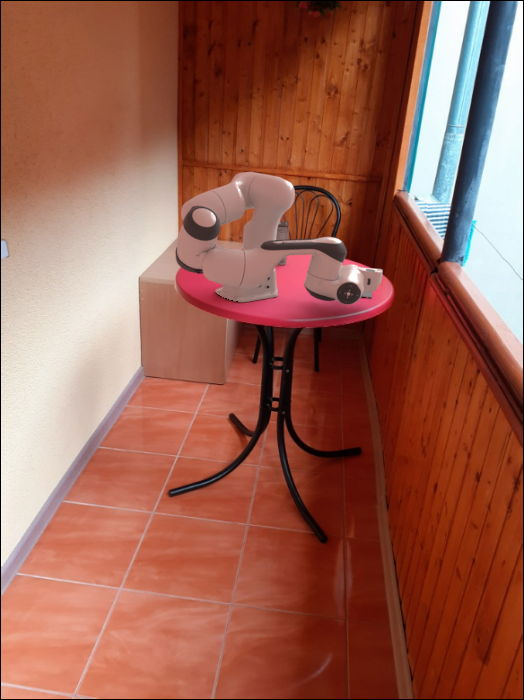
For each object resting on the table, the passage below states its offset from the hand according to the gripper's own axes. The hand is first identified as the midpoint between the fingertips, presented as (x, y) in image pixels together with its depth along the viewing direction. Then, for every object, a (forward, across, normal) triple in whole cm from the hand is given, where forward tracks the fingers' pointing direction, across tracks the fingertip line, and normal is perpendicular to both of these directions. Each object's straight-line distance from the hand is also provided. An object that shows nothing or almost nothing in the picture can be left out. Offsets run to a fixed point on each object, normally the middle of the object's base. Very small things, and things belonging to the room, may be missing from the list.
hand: (352, 267), depth 193 cm
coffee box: (+37, -30, -10) cm, 49 cm away
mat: (+11, 0, -10) cm, 15 cm away
